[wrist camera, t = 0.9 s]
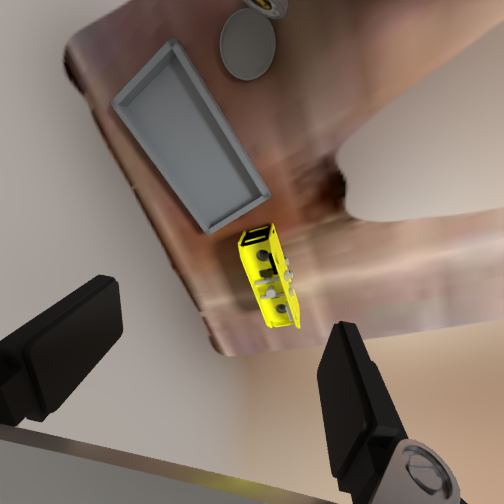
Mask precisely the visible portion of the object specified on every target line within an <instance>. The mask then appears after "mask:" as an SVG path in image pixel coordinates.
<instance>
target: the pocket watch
mask: <svg viewBox="0 0 504 504" xmlns="http://www.w3.org/2000/svg"><path fill="white" fill-rule="evenodd" d="M242 1H243V2H244V3H245V4H246V5H248V6H249V7H250V8H243V9H239V10H238V11H236V12H234V13H233V14H232V15H231V16H230V17H229V19H228V20H227V21H226V23H225V24H224V27H223V29H222V32H221V36H220V53H221V58H222V61H223V63H224V65H225V67H226V69H227V70H228V71H229V72H230V73H231V74H232V75H233V76H234V77H236V78H238V79H241V80H244V81H249V80H254V79H257V78H258V77H260V76H261V75H263V74H264V73H265V72H266V71H267V69H268V68H269V66H270V65H271V63H272V60H273V57H274V54H275V47H276V39H275V34H274V29H273V26H272V24H271V22H270V20H269V19H268V18H270V19H282V18H284V17H285V15H286V13H287V8H288V0H242Z"/></svg>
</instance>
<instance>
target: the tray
mask: <svg viewBox="0 0 504 504" xmlns="http://www.w3.org/2000/svg"><path fill="white" fill-rule="evenodd" d="M110 104H111V106H112V107H113V108H114V110H115V111H116V112H117V114H118V115H119V117H120V118H121V119H122V121H123V122H124V123H125V125H126V126H127V127H128V129H129V130H130V131H131V133H132V134H133V136H134V137H135V138H136V140H137V141H138V142H139V144H140V145H141V146H142V148H143V149H144V150H145V152H146V153H147V155H148V156H149V157H150V159H151V160H152V161H153V163H154V164H155V165H156V167H157V168H158V170H159V171H160V172H161V174H162V175H163V176H164V178H165V179H166V180H167V182H168V183H169V184H170V186H171V187H172V189H173V190H174V191H175V193H176V194H177V195H178V197H179V198H180V199H181V201H182V202H183V203H184V205H185V206H186V208H187V209H188V210H189V212H190V213H191V214H192V216H193V217H194V218H195V220H196V221H197V222H198V224H199V225H200V227H201V228H202V229H203V231H204V232H205V233H206V235H207V236H209V235H210V234H212V233H213V232H215V231H217V230H218V229H220V228H222V227H223V226H225V225H227V224H228V223H230V222H231V221H233V220H235V219H236V218H238V217H240V216H241V215H243V214H245V213H246V212H248V211H249V210H251V209H253V208H254V207H256V206H258V205H259V204H261V203H262V202H264V201H266V200H267V199H269V198H271V195H272V193H271V192H270V190H269V188H268V187H267V185H266V184H265V182H264V180H263V179H262V177H261V175H260V174H259V172H258V170H257V169H256V167H255V165H254V164H253V162H252V160H251V159H250V157H249V155H248V154H247V152H246V150H245V149H244V147H243V145H242V144H241V142H240V140H239V139H238V137H237V135H236V134H235V132H234V130H233V129H232V127H231V125H230V124H229V122H228V120H227V119H226V117H225V115H224V114H223V112H222V110H221V109H220V107H219V106H218V104H217V102H216V101H215V99H214V97H213V96H212V94H211V92H210V91H209V89H208V87H207V86H206V84H205V82H204V81H203V79H202V77H201V76H200V74H199V72H198V71H197V69H196V67H195V66H194V64H193V62H192V61H191V59H190V57H189V56H188V54H187V52H186V51H185V49H184V47H183V46H182V44H181V43H180V42H179V41H178V40H176V39H175V38H174V37H173V36H172V37H171V38H170V39H169V40H168V41H167V42H166V43H165V44H164V45H163V46H162V47H161V49H160V50H159V51H158V52H157V53H156V54H155V55H154V56H153V57H152V58H151V59H150V60H149V61H148V62H147V63H146V65H145V66H144V67H143V68H142V69H141V70H140V71H139V72H138V73H137V74H136V75H135V76H134V77H133V78H132V79H131V81H130V82H129V83H128V84H127V85H126V86H125V87H124V88H123V89H122V90H121V91H120V92H119V93H118V94H117V95H116V97H115V98H114V99H113V100H112V101H111V102H110Z"/></svg>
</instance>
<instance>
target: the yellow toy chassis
mask: <svg viewBox="0 0 504 504" xmlns="http://www.w3.org/2000/svg"><path fill="white" fill-rule="evenodd" d="M238 247H239V253H240V258H241V261H242V263H243V266H244V269H245V271H246V274H247V276H248V279H249V281H250V284H251V286H252V289H253V291H254V294H255V297H256V299H257V302H258V304H259V307H260V309H261V312H262V314H263V317H264V320H265V322H266V325H267V326H268V327H270V328H272V326H274V327H281V326H287V325H292V324H294V323H295V325H296V327H297V328H298V329H300V315H299V314H300V310H299V303H298V300H297V297H296V294H295V291H294V287H293V283H292V281H291V279H293V273H292V272H289V270H288V268H287V265H289V261H288V258H285V259H284V256H283V252H282V249H281V246H280V243H279V240H278V236H277V233H276V230H275V227H274V224H273V223H272V225H271V227H268V226H265V227H262V228H258V229H255V230H251V231H249V232H248V233H246V232H245V231H244V232H243V234H242V236H241V238H240V240H239V242H238ZM269 268H272V270H268V269H269Z"/></svg>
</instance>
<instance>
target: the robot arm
mask: <svg viewBox="0 0 504 504" xmlns="http://www.w3.org/2000/svg"><path fill="white" fill-rule="evenodd" d="M122 333H123V322H122V313H121V303H120V293H119V284H118V282H117V281H116V280H115V278H113V277H110V276H105V275H97V276H96V277H94V278H93V279H92V280H90V281H88V282H87V283H85V284H84V285H82V286H81V287H79V288H78V289H76V290H75V291H73V292H72V293H70V294H69V295H67V296H66V297H65V298H63V299H62V300H60V301H59V302H57V303H56V304H54V305H53V306H51V307H50V308H48V309H47V310H45V311H44V312H42V313H41V314H39V315H38V316H36V317H35V318H33V319H32V320H30V321H29V322H28V323H26V324H24V325H23V326H21V327H20V328H19V329H17V330H15V331H14V332H13V333H11V334H10V335H8V336H7V337H5V338H4V339H2V340H1V341H0V504H337V503H334V502H330V501H326V500H322V499H319V498H315V497H311V496H307V495H304V494H300V493H296V492H292V491H288V490H284V489H280V488H277V487H272V486H268V485H264V484H260V483H256V482H251V481H247V480H243V479H239V478H234V477H230V476H226V475H222V474H218V473H214V472H209V471H205V470H201V469H197V468H193V467H188V466H184V465H180V464H176V463H171V462H167V461H162V460H158V459H154V458H150V457H145V456H141V455H137V454H133V453H128V452H124V451H120V450H115V449H111V448H107V447H102V446H98V445H93V444H89V443H85V442H80V441H75V440H71V439H67V438H62V437H58V436H54V435H49V434H45V433H40V432H36V431H32V430H27V429H22V428H19V423H20V422H21V421H22V420H23V419H24V418H25V417H26V418H27V419H29V420H33V421H37V422H43V421H44V420H45V418H46V417H47V416H48V415H49V414H50V413H53V412H55V411H56V410H57V409H58V408H59V407H60V406H61V405H62V404H63V403H64V401H65V400H66V399H67V398H68V397H69V396H70V394H71V393H72V392H73V391H74V390H75V389H76V388H77V386H78V385H79V384H80V383H81V382H82V381H83V379H84V378H85V377H86V376H87V375H88V374H89V373H90V372H91V370H92V369H93V368H94V367H95V366H96V364H97V363H98V362H99V361H100V360H101V359H102V358H103V356H104V355H105V354H106V353H107V352H108V351H109V350H110V348H111V347H112V346H113V345H114V344H115V343H116V342H117V340H118V339H119V338H120V337H121V335H122ZM317 381H318V387H319V394H320V401H321V407H322V414H323V421H324V427H325V434H326V441H327V447H328V454H329V460H330V467H331V473H332V475H333V477H335V478H337V481H338V487H339V491H342V492H346V493H350V494H351V497H352V502H353V504H467V503H466V502H465V501H464V500H463V499H462V498H461V497H460V489H459V485H458V483H457V480H456V478H455V476H454V475H453V473H452V471H451V469H450V468H449V466H448V465H447V464H446V463H445V462H444V461H443V459H442V458H441V457H440V456H439V455H438V454H437V453H436V452H435V451H433V450H432V449H431V448H429V447H428V446H426V445H425V444H423V443H421V442H419V441H416V440H413V439H409V438H408V436H407V434H406V432H405V429H404V427H403V425H402V422H401V420H400V418H399V415H398V413H397V411H396V409H395V406H394V404H393V402H392V399H391V397H390V395H389V393H388V390H387V388H386V386H385V383H384V381H383V379H382V377H381V374H380V372H379V370H378V367H377V366H376V364H375V363H374V362H373V361H371V360H370V357H369V355H368V352H367V350H366V348H365V345H364V343H363V340H362V338H361V336H360V333H359V331H358V328H357V326H356V324H354V323H349V322H344V321H340V322H339V323H338V324H334V326H333V328H332V331H331V334H330V336H329V339H328V342H327V345H326V348H325V350H324V353H323V356H322V359H321V362H320V364H319V367H318V370H317Z"/></svg>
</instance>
